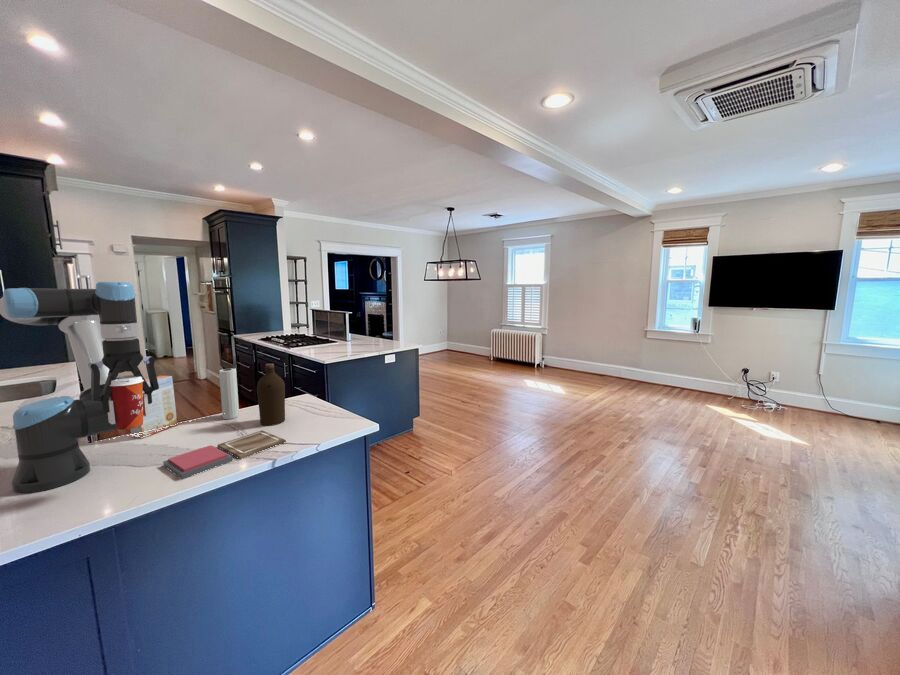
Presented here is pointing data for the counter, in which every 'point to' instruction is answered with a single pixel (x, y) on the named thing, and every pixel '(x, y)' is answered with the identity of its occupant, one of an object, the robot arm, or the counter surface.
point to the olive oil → (271, 397)
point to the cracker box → (159, 408)
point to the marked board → (251, 444)
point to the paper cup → (127, 401)
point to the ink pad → (197, 461)
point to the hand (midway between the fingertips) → (129, 418)
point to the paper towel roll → (229, 393)
